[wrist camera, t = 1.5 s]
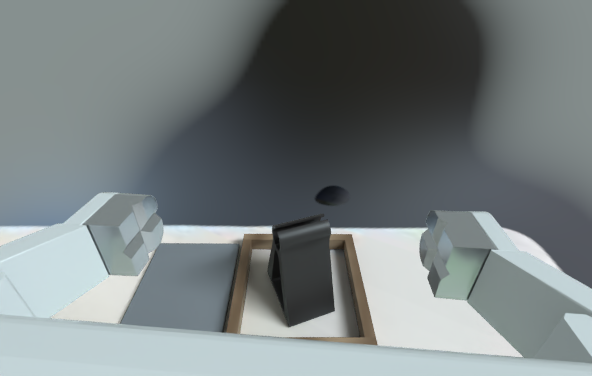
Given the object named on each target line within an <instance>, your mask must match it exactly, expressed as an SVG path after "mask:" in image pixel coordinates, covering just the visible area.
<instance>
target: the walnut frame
mask: <svg viewBox="0 0 592 376" xmlns="http://www.w3.org/2000/svg"><path fill="white" fill-rule="evenodd" d="M272 242H273V234H244V238H243V243H242V249H241V254H240V260H239V265H238V271H237V276H236V282H235V287H234V293H233V298H232V304H231V309H230V315H229V320H228V326H227V331H226V333H234V334H240V330H241V323H242V316H243V309H244V302H245V295H246V288H247V282H248V275H249V268H250V261H251V254H252V249H271V248H272ZM329 248H330V249H344V254H345V259H346V265H347V270H348V275H349V280H350V286H351V291H352V296H353V301H354V307H355V312H356V317H357V322H358V328H359V333H360V337H289V338H294V339H306V340H318V341H330V342H342V343H354V344H367V345H377V341H376V337H375V332H374V328H373V324H372V319H371V315H370V311H369V307H368V302H367V298H366V294H365V289H364V285H363V281H362V277H361V272H360V268H359V264H358V259H357V255H356V251H355V246H354V242H353V238H352V234H331V236H330V241H329Z"/></svg>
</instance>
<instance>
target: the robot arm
mask: <svg viewBox="0 0 592 376" xmlns="http://www.w3.org/2000/svg"><path fill="white" fill-rule="evenodd" d="M157 208H158V206H157V202H156V199H155V198H154V197H153V196H151V195H140V194H127V193H111V192H103V193H99V194H98V195H96V196H95V197H94V198H93V199H92V200H90V201H89V202H88V203H87V204H86V205H84V206H83V207H82V208H81V209H80V210H79V211H77V212H76V213H75V214H74V215H73V216H71V217H70V218H69V219H68V220H67V221H66V222H64V223H63V224H56V225H53V226H50V227H48V228H45V229H42V230H40V231H37V232H35V233H32V234H30V235H27V236H25V237H22V238H20V239H17V240H15V241H12V242H9V243H7V244H4V245H2V246H0V376H592V289H591V288H589V287H587V286H586V285H584V284H582V283H580V282H579V281H577V280H575V279H573V278H571V277H570V276H568V275H566V274H564V273H563V272H561V271H559V270H557V269H556V268H554V267H552V266H550V265H548V264H547V263H545V262H543V261H541V260H540V259H538V258H536V257H534V256H533V255H531V254H529V253H527V252H522V251H519V250H518V249H517V247H516V246H515V245H514V243H513V242H512V241H511V240H510V238H509V237H508V236H507V234H506V233H505V232H504V231H503V229H502V228H501V227H500V225H499V224H498V223H497V222H496V220H495V219H494V218H493V216H492V215H491V214H490V213H488V212H472V211H467V212H460V211H459V212H458V211H434V210H431V211H430V212H429V214H428V215H427V219H426V224H427V226H428V230H426V231H425V232H424V233H423V234H422V236H421V240H420V258H421V261H422V264H423V266H424V267H425V268H426V269H427V270H429V275H428V281H429V284H430V286H431V289H432V292H433V294H434V297H436V298H446V299H456V300H467V302H468V303H469V304H470V305H471V306H472V307H473V308H474V309H475V310H476V311H477V312H478V313H479V314H480V315H481V316H482V317H483V318H484V319H485V320H486V321H487V322H488V323H489V324H490V325H491V326H492V327H493V328H494V329H495V330H496V331H497V332H498V333H500V334H501V335H502V336H503V337H504V338H505V339H506V340H507V341H508V342H509V343H510V344H511V345H512V346H513V347H514V348H515V349H516V350H517V351H518V352H519V353H520V354H521V355H522V356H523V357H524V358H523V357H511V356H499V355H487V354H475V353H463V352H451V351H439V350H427V349H415V348H403V347H391V346H379V345H367V344H354V343H342V342H330V341H318V340H306V339H294V338H282V337H270V336H258V335H246V334H234V333H222V332H210V331H198V330H186V329H173V328H161V327H149V326H137V325H125V324H113V323H101V322H89V321H77V320H65V319H52V318H50V317H52V316H53V315H55V314H56V313H57V312H59V311H60V310H62V309H63V308H65V307H66V306H67V305H69V304H70V303H72V302H73V301H75V300H76V299H77V298H79V297H80V296H82V295H83V294H85V293H86V292H88V291H89V290H90V289H92V288H93V287H95V286H96V285H98V284H99V283H100V282H102V281H103V280H105V279H106V278H108V277H109V275H122V276H138V275H139V274H140V272H141V271H142V269H143V268H144V266H145V265H146V263H147V262H148V261H149V256H148V253H150V252H152V251H153V250H155V249H157V247H158V246H159V244H160V243H161V240H162V236H163V223H162V219H161V218H160V217H159V216H158V215H157V214H156V213H155V212H156V210H157Z"/></svg>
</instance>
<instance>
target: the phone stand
mask: <svg viewBox="0 0 592 376" xmlns="http://www.w3.org/2000/svg"><path fill="white" fill-rule="evenodd" d="M321 217H324V214H319V215H314V216H310V217H306V218H303V219H298V220H294V221H290V222H286V223H282V224H278V225H273V226H272V234H273V242H272V248H271V254H270V259H269V265H268V274H269V277H270V279H271V282H272V284H273V287H274V289H275V292H276V294H277V297H278V299H279V302H280V305H281V307H282V310H283V312H284V315H285V317H286V320H287V322H288V325H289V327H291V326H294V325H297V324H300V323H302V322H305V321H308V320H311V319H314V318H317V317H319V316H322V315H325V314H328V313H331V312H333V311H335V308H334V296H333V284H332V272H331V260H330V248H329V241H330V236H331V229H330V225H329V221H328V220H323V221H320V219H321Z"/></svg>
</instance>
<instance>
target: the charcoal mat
mask: <svg viewBox="0 0 592 376" xmlns="http://www.w3.org/2000/svg"><path fill="white" fill-rule="evenodd" d="M238 252H239V244H179V243H160V244H159V246H158V248H157V250H156V252H155V254H154V256H153V258H152V260H151V262H150V264H149V266H148V269H147V271H146V273H145V275H144V277H143V279H142V281H141V283H140V285H139V287H138V289H137V291H136V293H135V295H134V297H133V299H132V301H131V303H130V305H129V307H128V309H127V311H126V313H125V315H124V317H123V319H122V321H121V323H120V324H125V325H137V326H149V327H161V328H173V329H186V330H198V331H210V332H222V333H223V330H224V325H225V319H226V314H227V309H228V304H229V299H230V293H231V288H232V283H233V278H234V272H235V267H236V262H237V257H238Z"/></svg>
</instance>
